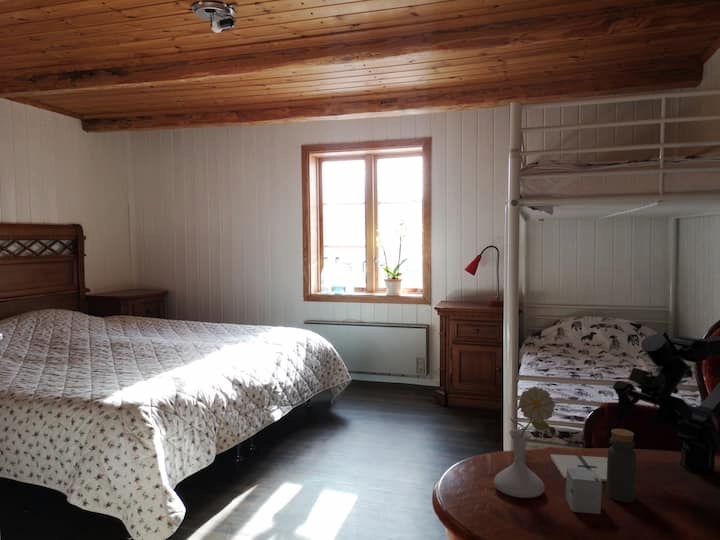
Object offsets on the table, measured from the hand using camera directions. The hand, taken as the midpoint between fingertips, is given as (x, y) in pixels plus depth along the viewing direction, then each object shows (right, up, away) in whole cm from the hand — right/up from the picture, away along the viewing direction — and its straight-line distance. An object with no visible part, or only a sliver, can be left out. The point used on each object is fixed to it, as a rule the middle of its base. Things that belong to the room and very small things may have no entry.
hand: (631, 426), depth 128 cm
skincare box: (-17, -14, -11) cm, 25 cm away
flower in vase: (-28, -14, -5) cm, 32 cm away
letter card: (-7, -13, +8) cm, 17 cm away
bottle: (-6, -14, -7) cm, 17 cm away
